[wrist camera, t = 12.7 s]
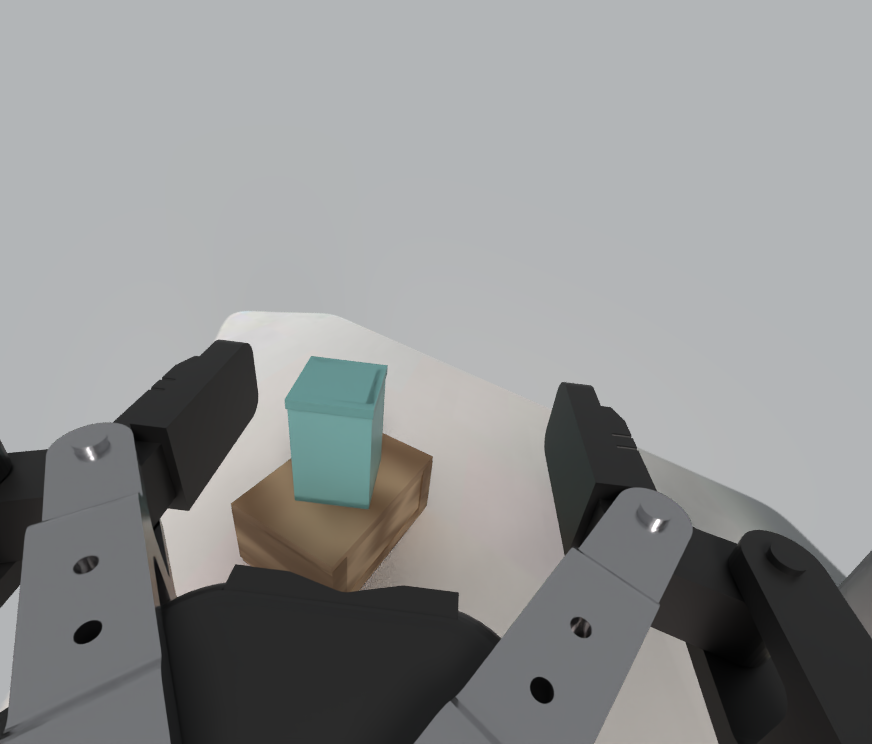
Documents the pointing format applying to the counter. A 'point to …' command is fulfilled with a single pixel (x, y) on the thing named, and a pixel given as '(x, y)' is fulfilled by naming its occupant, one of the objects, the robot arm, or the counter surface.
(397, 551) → the counter surface
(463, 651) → the robot arm
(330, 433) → the teal lidded bin
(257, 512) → the wooden crate
